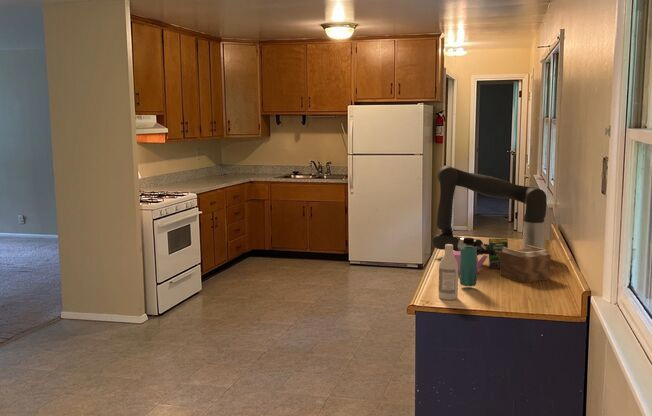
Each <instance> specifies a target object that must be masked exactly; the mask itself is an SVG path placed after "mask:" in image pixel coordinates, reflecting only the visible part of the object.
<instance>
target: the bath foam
mask: <svg viewBox="0 0 652 416" xmlns="http://www.w3.org/2000/svg"><path fill="white" fill-rule="evenodd" d="M453 251H454V250H453V245H452V244H446V245H445V250H444V255H443V256H442V258H441V259H440V262H439V264H438V265H439V266H438V297H439V299H441V300H444V301H453V300H456V299H458V297H459V295H458V294H459V293H458V292H459V291H458V289H459V288H458V287H459V275H458V263H457V260H456V259H455V257H454V255H453Z"/></svg>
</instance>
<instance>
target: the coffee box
mask: <svg viewBox="0 0 652 416" xmlns="http://www.w3.org/2000/svg"><path fill="white" fill-rule="evenodd" d="M508 241H509V240H508V238H489V239H488V244H489V249H490V250H494V251H495V254H494V255H489V254H488V268H489V269H500V258H501V252H502V250H503V247H506V248H509V246H508V245H509V242H508Z"/></svg>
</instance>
